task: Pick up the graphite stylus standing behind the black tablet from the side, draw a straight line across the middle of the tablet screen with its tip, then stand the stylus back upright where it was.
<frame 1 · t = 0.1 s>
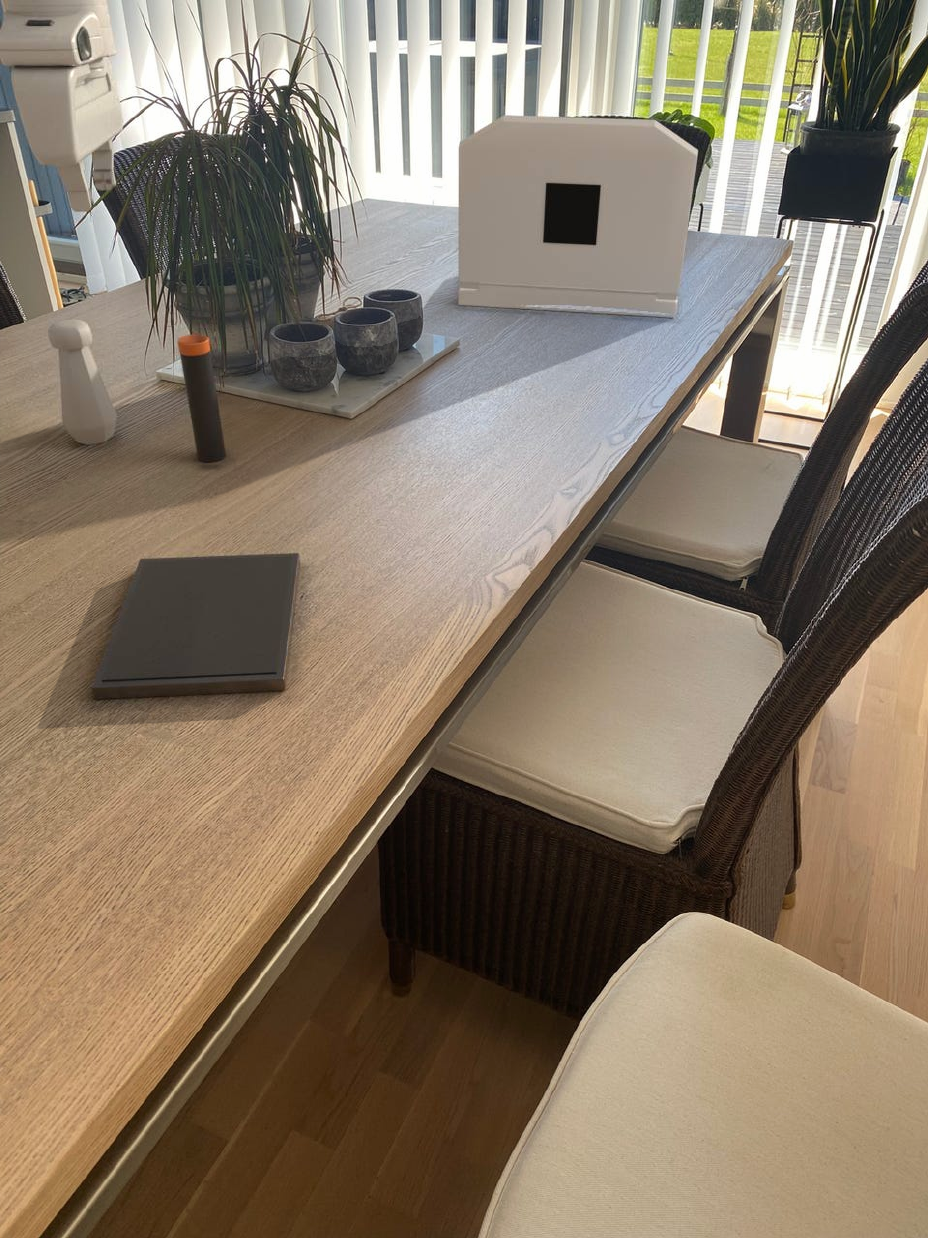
hand: (95, 199, 93), 25 cm above the table, tool pointing down, fingers open, 8 cm apart
tablet: (207, 625, 78), on the table
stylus: (212, 456, 104), on the table
white chamfered box: (571, 290, 155), on the table
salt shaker: (94, 438, 108), on the table
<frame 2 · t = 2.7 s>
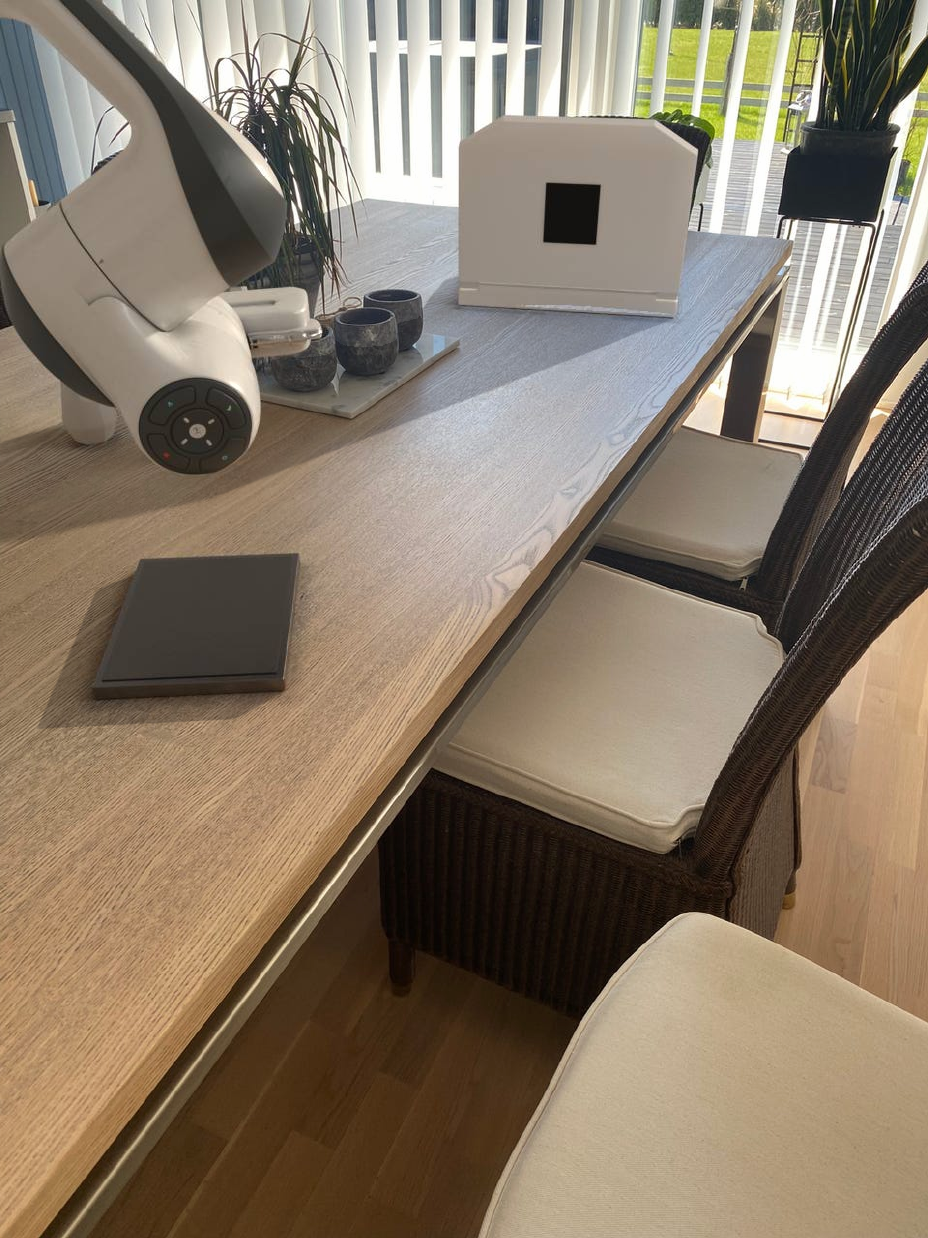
hand: (184, 300, 83), 20 cm above the table, tool horizontal, fingers open, 8 cm apart
nothing on the table moved.
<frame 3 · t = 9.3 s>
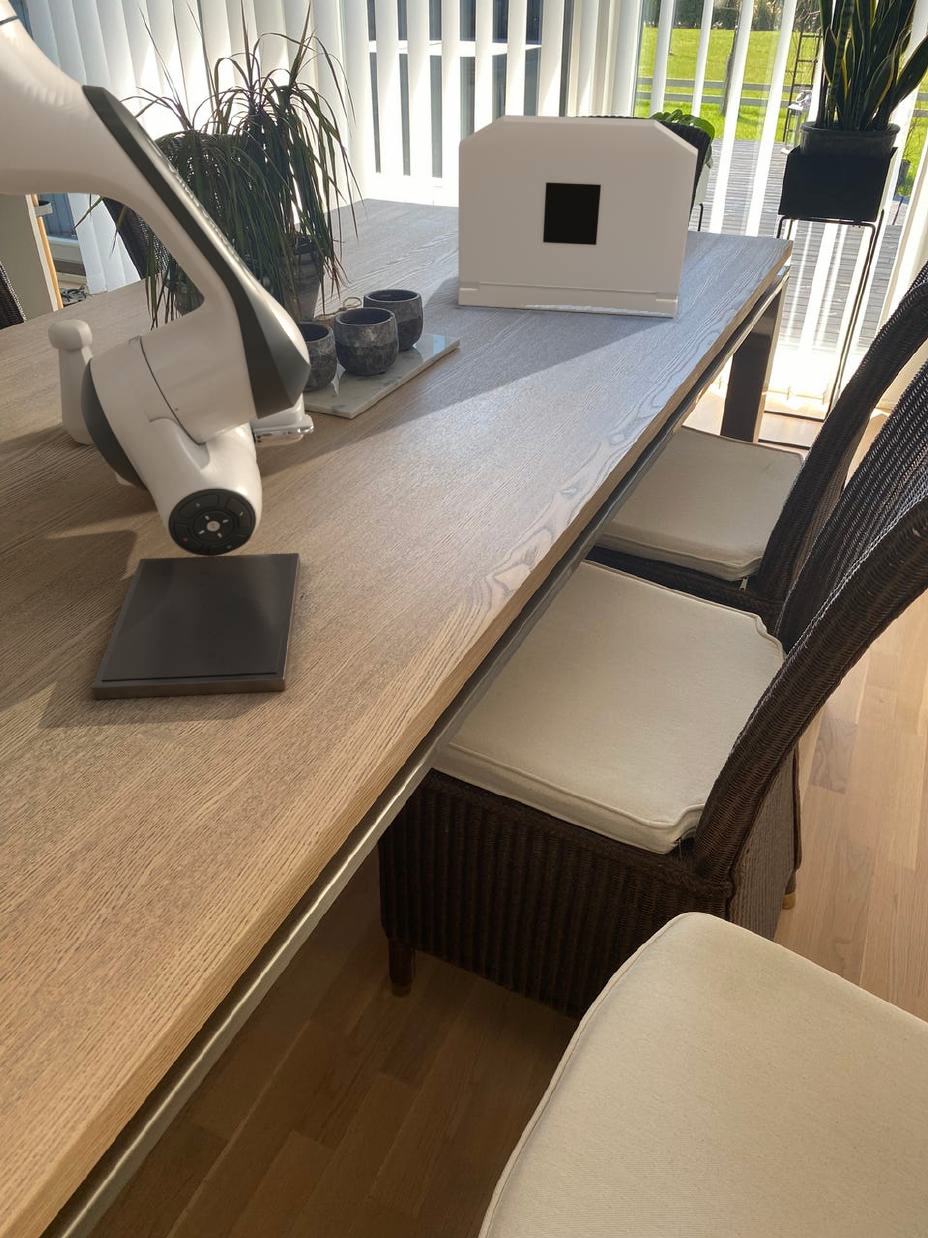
hand: (201, 390, 100), 7 cm above the table, tool horizontal, fingers closed on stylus, 3 cm apart
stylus: (212, 456, 104), on the table, touching gripper
everything else where it was.
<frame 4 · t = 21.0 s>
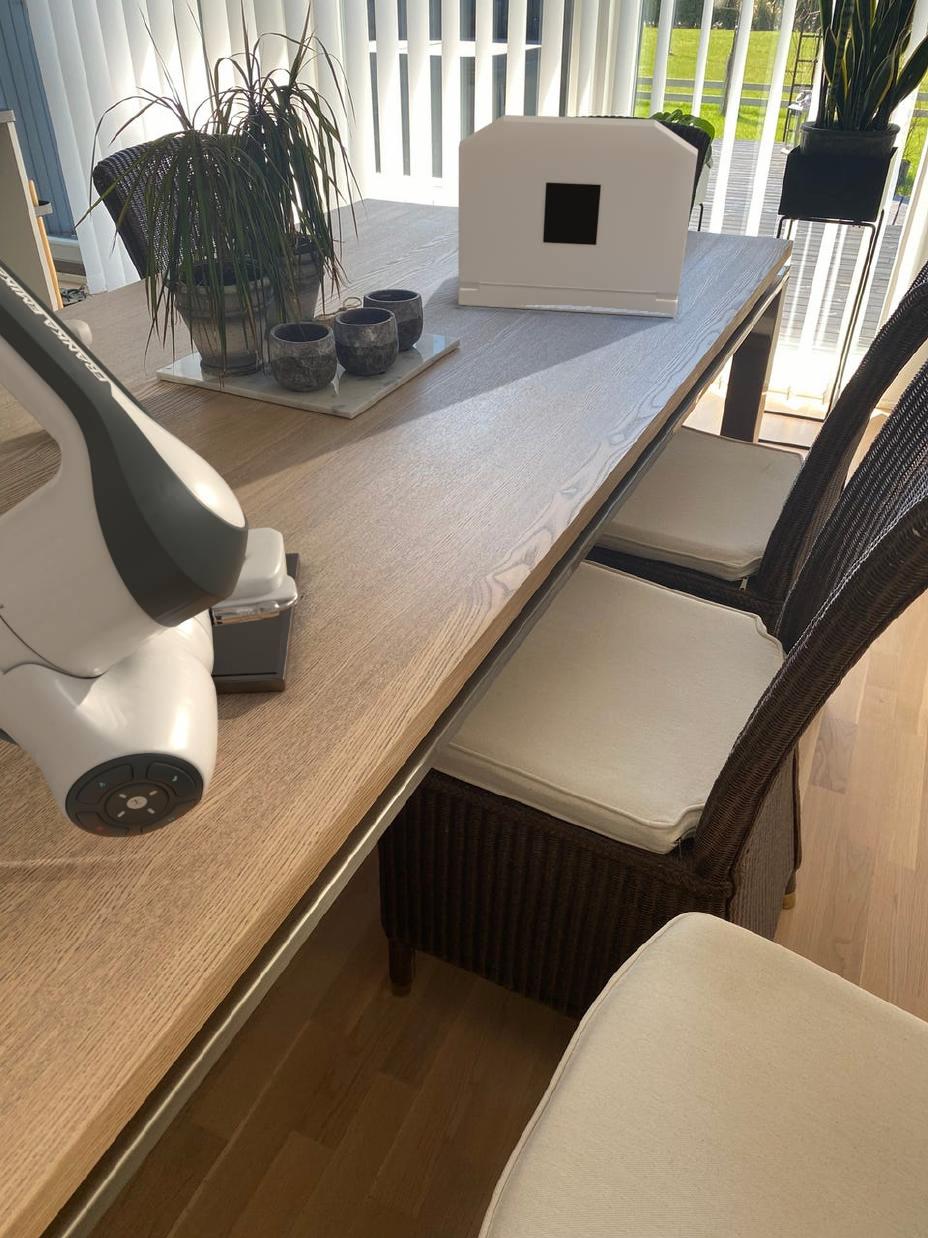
hand: (146, 530, 73), 9 cm above the table, tool horizontal, fingers closed on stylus, 3 cm apart
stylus: (163, 613, 77), point 1 cm above the table, touching gripper
everything else where it was.
when the fingers open (7 cm above the table, at t = 32.9 s): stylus stays where it is, on the table.
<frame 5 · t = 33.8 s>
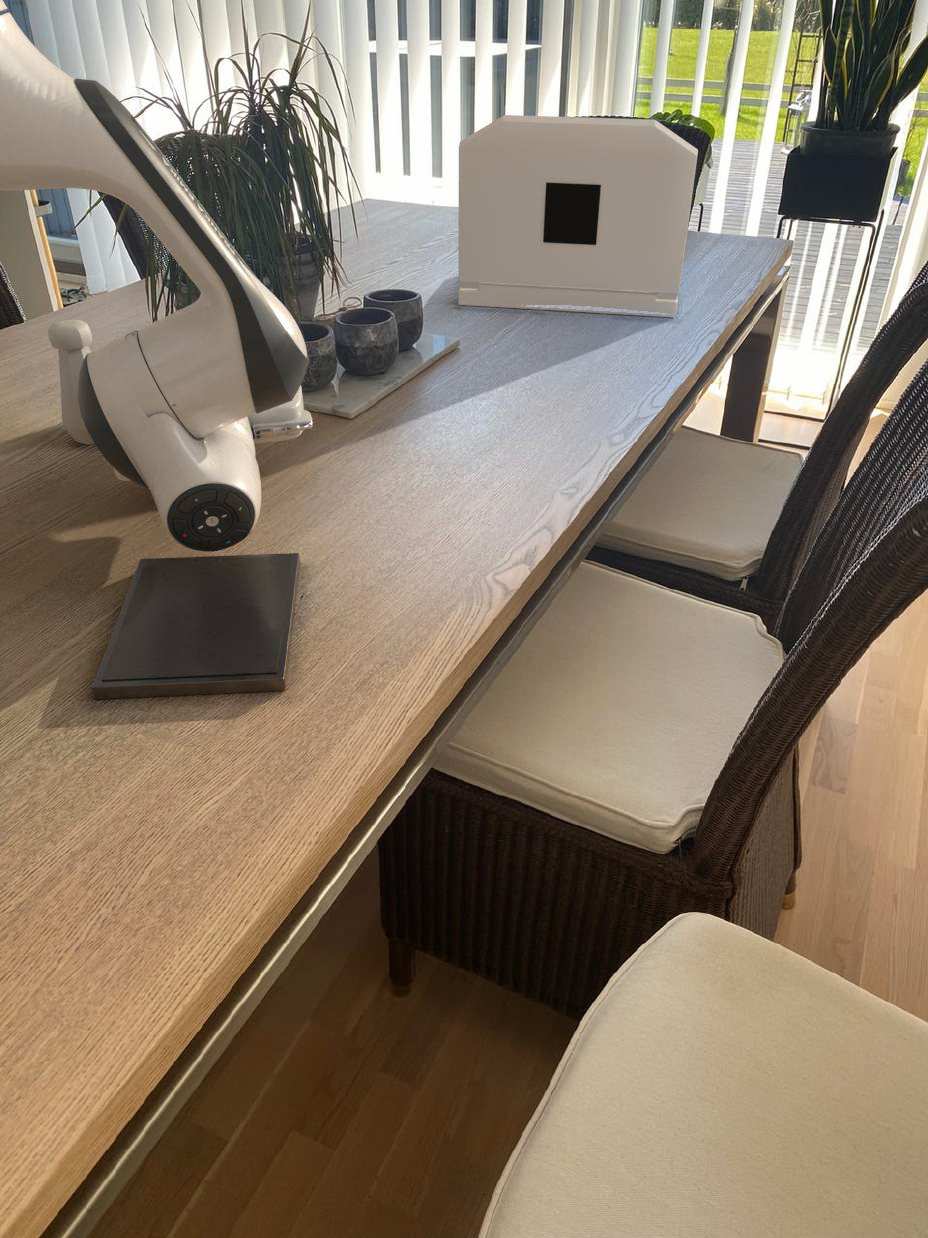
hand: (200, 386, 100), 8 cm above the table, tool horizontal, fingers open, 8 cm apart
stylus: (213, 456, 104), on the table
everything else where it was.
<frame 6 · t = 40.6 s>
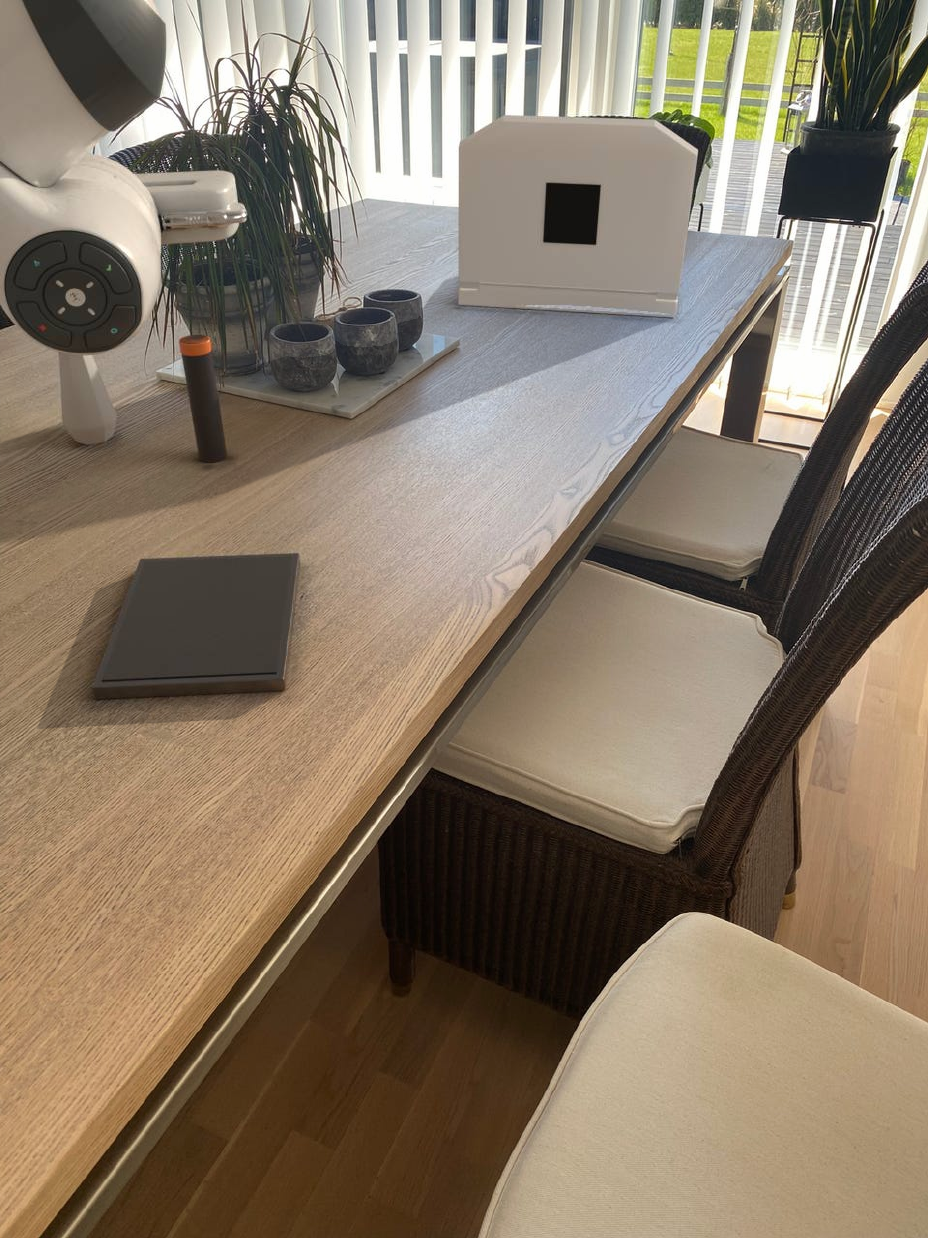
hand: (102, 187, 75), 30 cm above the table, tool horizontal, fingers open, 8 cm apart
nothing on the table moved.
at the end: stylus 0.1 cm from the target spot on the table beside the tablet, on the table; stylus tilted 0°; the gripper is holding nothing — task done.
